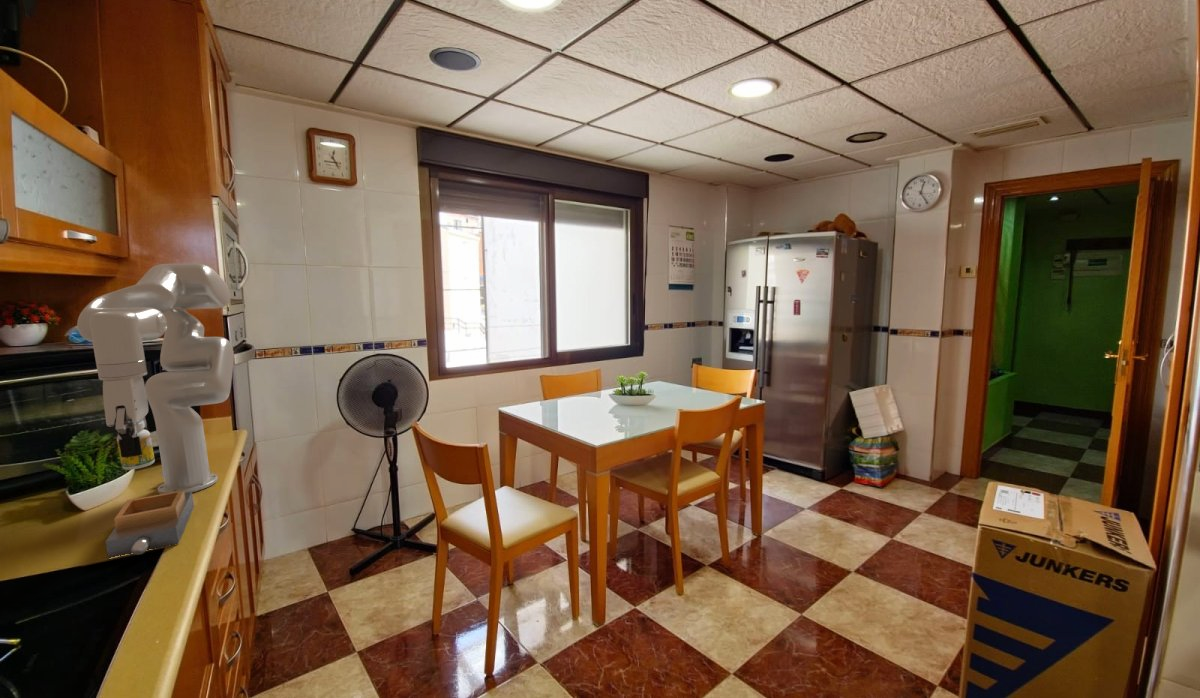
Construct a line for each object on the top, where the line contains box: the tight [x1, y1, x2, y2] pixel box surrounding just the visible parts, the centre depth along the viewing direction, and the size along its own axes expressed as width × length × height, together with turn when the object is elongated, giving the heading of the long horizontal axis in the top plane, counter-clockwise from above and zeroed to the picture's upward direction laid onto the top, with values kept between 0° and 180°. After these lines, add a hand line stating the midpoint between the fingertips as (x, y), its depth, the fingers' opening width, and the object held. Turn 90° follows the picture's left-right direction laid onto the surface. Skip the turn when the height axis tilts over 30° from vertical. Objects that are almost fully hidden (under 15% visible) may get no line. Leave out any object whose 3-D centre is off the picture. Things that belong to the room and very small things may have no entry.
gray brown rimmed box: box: [105, 490, 195, 558], centre depth 111 cm, size 23×11×6 cm, turn 31°
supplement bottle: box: [116, 421, 156, 471], centre depth 109 cm, size 5×5×10 cm
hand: (136, 450), depth 109 cm, fingers closed on supplement bottle, 5 cm apart
